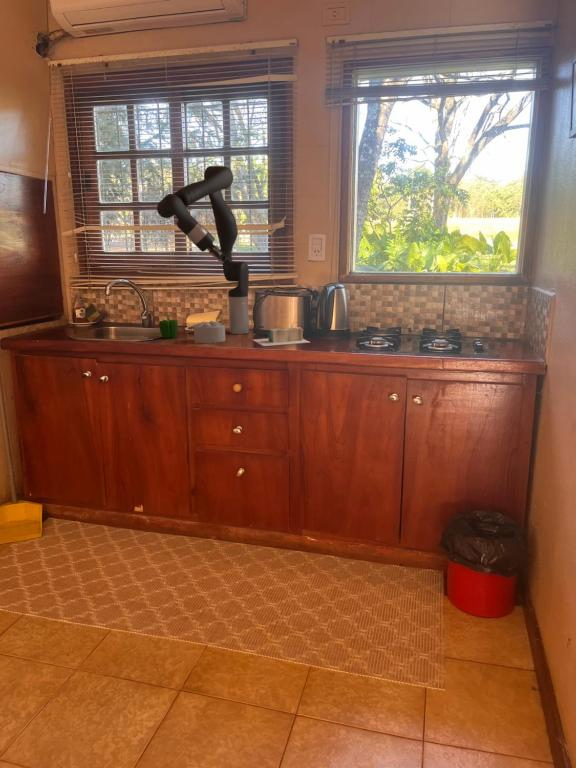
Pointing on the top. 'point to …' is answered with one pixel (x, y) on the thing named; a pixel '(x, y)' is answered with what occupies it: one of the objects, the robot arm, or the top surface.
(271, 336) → the maple block
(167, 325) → the bell pepper
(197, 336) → the lumpy-topped squat cylinder
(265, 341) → the grey mat
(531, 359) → the top surface
